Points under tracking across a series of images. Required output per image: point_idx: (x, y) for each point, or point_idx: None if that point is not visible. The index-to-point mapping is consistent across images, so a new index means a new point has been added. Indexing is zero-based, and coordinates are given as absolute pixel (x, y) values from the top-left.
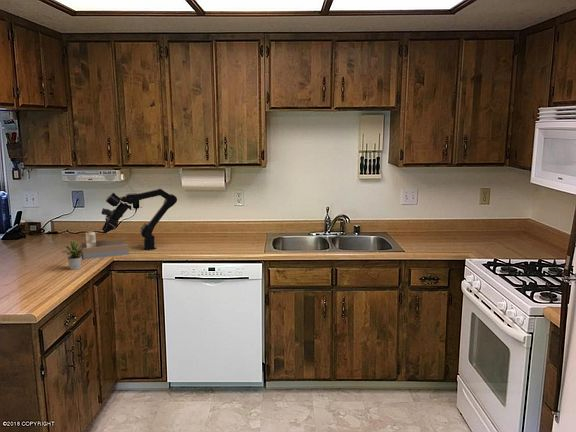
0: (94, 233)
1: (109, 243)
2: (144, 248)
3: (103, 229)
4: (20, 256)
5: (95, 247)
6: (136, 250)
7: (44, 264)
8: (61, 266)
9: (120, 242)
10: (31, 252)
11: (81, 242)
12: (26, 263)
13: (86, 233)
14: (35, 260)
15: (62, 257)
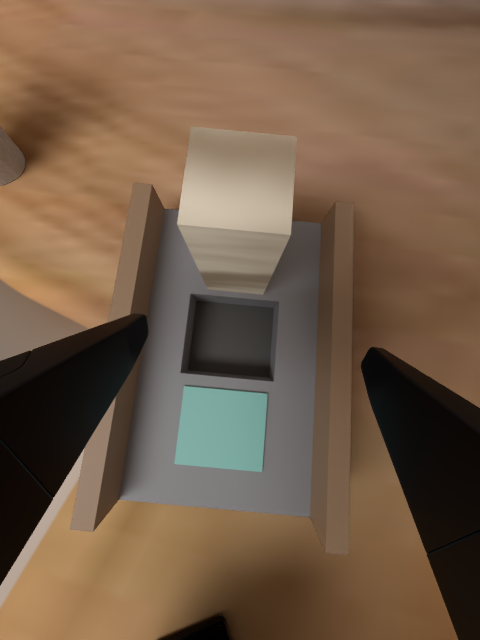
0: (192, 217)
1: (319, 402)
2: (198, 634)
3: (371, 370)
4: (351, 10)
5: (125, 260)
6: (200, 556)
7: (155, 70)
8: (76, 121)
9: (315, 493)
10: (411, 49)
11: (341, 204)
12: (213, 18)
13: (241, 137)
14: (247, 49)
15: None
